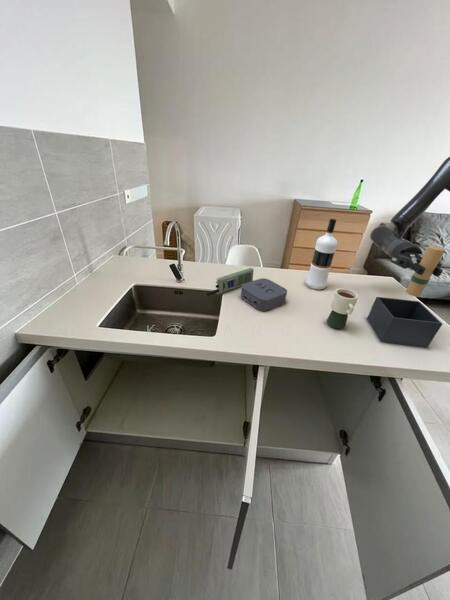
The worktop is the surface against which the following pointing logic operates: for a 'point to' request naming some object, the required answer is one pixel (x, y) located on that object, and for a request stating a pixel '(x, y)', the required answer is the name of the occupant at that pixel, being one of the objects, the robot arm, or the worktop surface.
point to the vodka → (322, 259)
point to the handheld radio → (232, 281)
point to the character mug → (342, 307)
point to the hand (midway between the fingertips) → (431, 272)
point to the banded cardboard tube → (429, 263)
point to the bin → (403, 322)
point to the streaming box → (263, 294)
